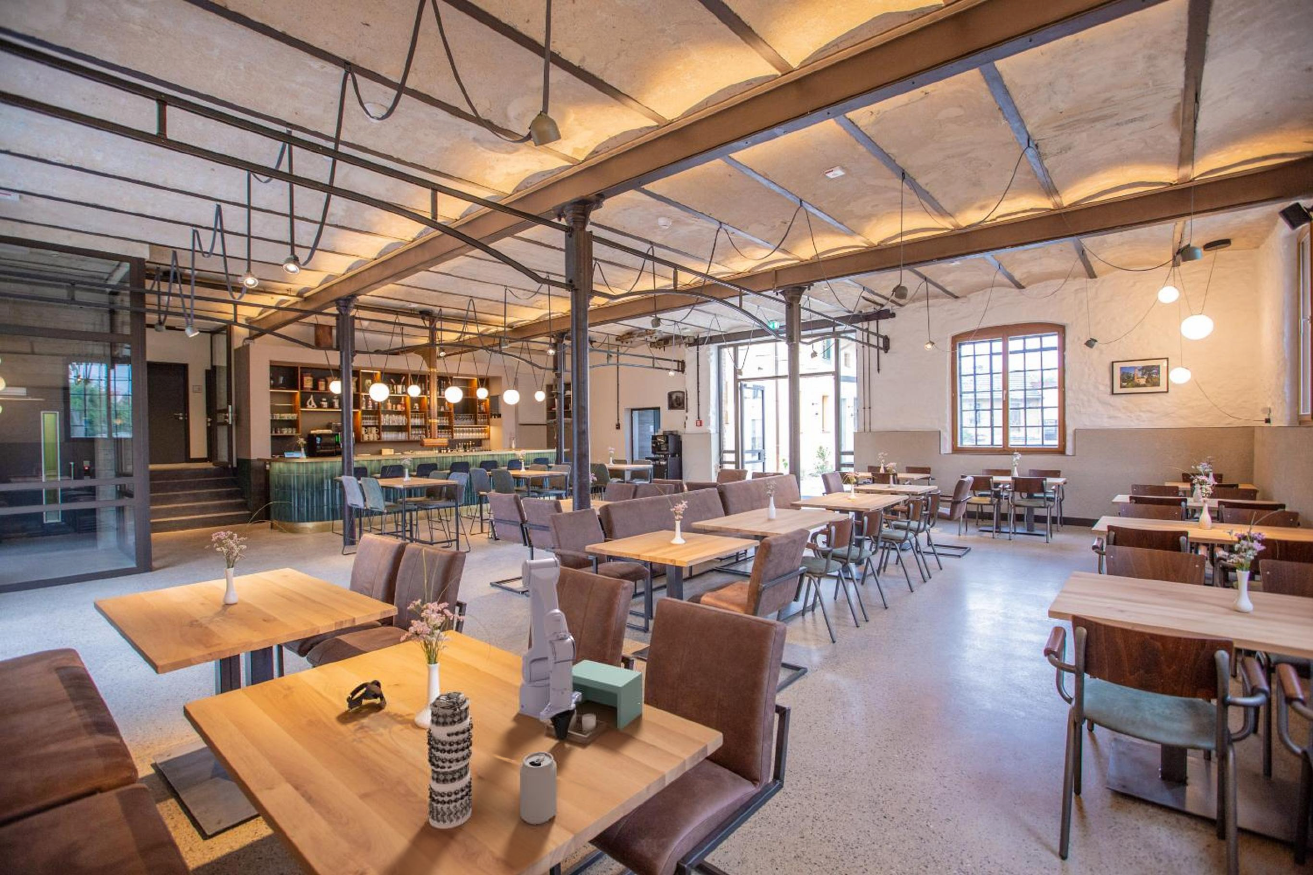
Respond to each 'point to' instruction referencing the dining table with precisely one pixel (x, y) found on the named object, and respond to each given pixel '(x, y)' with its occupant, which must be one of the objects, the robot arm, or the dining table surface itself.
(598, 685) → the box
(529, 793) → the can
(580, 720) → the tray
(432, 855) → the dining table surface
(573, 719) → the cup
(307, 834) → the dining table surface
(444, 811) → the decorative candle
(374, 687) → the dark brown looped arch
